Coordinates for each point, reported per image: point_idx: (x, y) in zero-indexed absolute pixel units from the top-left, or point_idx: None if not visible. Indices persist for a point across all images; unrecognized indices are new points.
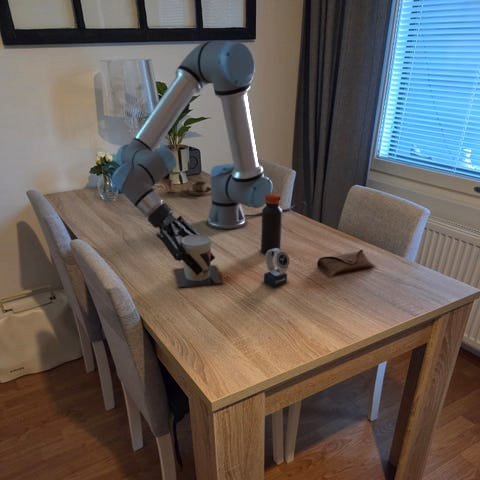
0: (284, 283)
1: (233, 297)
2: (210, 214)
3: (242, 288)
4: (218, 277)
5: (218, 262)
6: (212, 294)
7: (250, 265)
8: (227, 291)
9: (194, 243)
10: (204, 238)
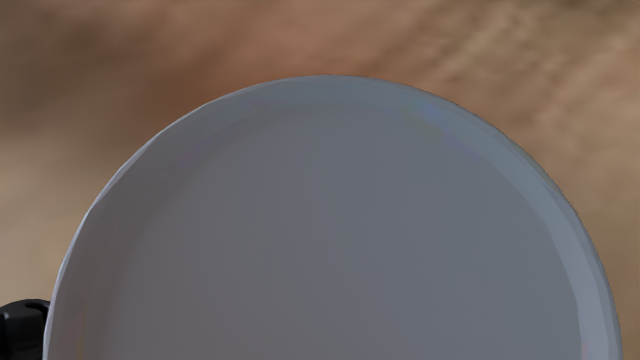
0: None
1: (556, 53)
2: None
3: (421, 28)
4: None
5: (9, 275)
6: (571, 183)
7: (63, 41)
8: (492, 102)
9: (495, 289)
10: (219, 182)
